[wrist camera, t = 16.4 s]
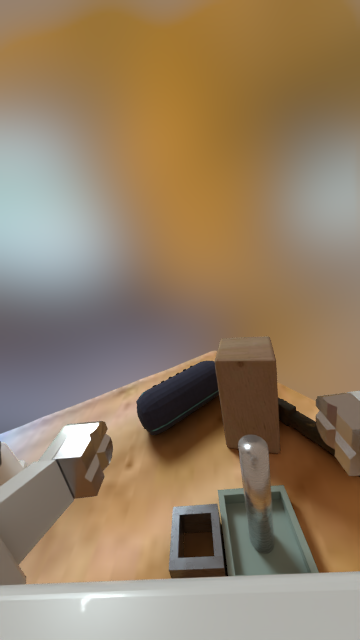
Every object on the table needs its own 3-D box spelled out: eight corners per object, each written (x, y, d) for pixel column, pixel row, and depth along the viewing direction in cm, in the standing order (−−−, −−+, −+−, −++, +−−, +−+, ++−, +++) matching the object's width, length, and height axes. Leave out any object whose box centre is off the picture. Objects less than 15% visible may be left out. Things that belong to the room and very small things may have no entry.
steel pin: (252, 554, 27) (241, 460, 22) (246, 523, 30) (235, 435, 25) (278, 553, 27) (272, 458, 22) (269, 522, 30) (262, 433, 25)
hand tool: (374, 468, 35) (377, 446, 33) (360, 482, 33) (363, 459, 32) (277, 405, 51) (277, 389, 50) (265, 412, 50) (264, 396, 48)
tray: (231, 598, 24) (229, 586, 23) (219, 501, 34) (217, 490, 33) (322, 596, 23) (323, 582, 22) (284, 496, 33) (283, 485, 32)
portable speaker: (209, 380, 66) (204, 352, 63) (233, 394, 57) (229, 362, 55) (135, 425, 53) (126, 391, 50) (153, 450, 45) (143, 412, 42)
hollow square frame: (175, 589, 26) (168, 570, 24) (177, 525, 32) (173, 507, 30) (227, 588, 25) (224, 568, 24) (220, 522, 31) (217, 503, 30)
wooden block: (280, 455, 39) (276, 360, 33) (226, 448, 42) (213, 360, 37) (274, 415, 48) (269, 335, 42) (229, 412, 51) (220, 337, 46)
